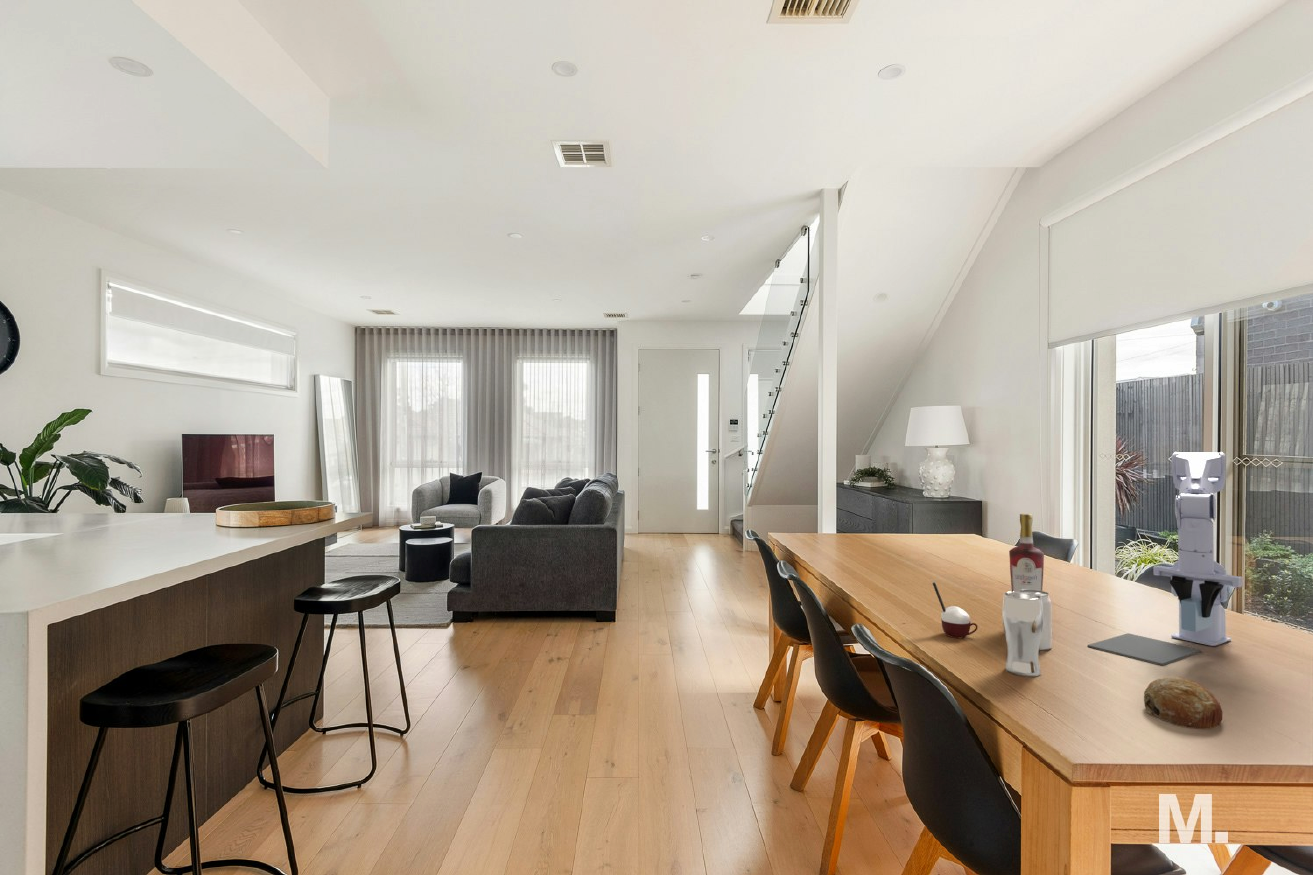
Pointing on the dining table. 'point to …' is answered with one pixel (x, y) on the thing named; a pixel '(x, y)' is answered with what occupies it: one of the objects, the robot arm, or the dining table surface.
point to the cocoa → (954, 620)
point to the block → (1194, 615)
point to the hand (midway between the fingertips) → (1196, 615)
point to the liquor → (1026, 560)
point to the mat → (1145, 649)
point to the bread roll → (1182, 703)
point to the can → (1044, 618)
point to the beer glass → (1023, 632)
